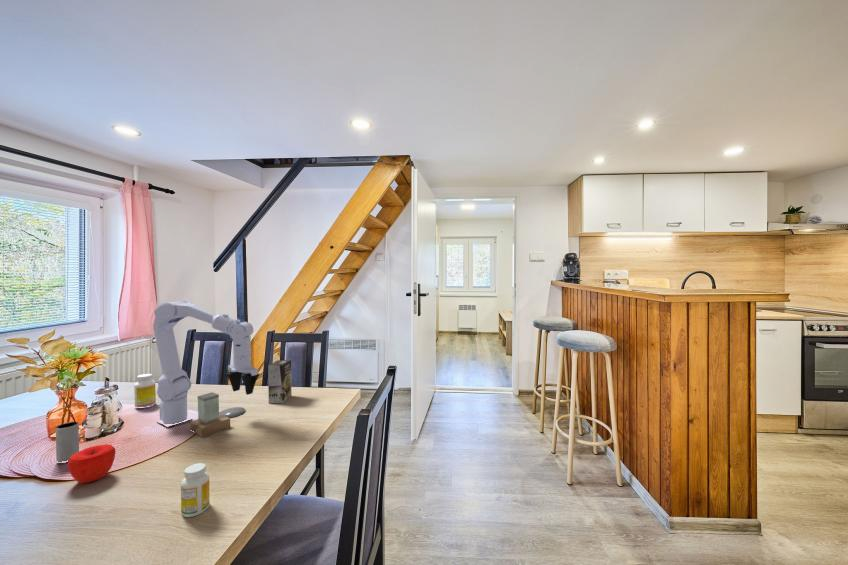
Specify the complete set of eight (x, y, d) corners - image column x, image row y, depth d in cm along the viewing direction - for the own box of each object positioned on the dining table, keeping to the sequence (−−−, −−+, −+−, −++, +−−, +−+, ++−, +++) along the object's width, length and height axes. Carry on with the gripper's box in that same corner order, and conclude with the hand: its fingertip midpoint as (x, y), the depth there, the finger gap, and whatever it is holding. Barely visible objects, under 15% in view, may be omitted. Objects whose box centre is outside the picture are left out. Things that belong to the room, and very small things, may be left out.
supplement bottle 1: (158, 405, 139) (157, 374, 138) (138, 410, 133) (137, 378, 133) (152, 402, 142) (151, 372, 142) (132, 407, 137) (131, 376, 136)
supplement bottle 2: (185, 521, 72) (184, 478, 72) (178, 510, 76) (177, 468, 76) (213, 508, 77) (212, 466, 76) (205, 498, 80) (204, 458, 80)
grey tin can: (82, 457, 99) (81, 422, 99) (62, 465, 95) (61, 429, 94) (73, 454, 100) (72, 420, 100) (52, 462, 96) (51, 427, 96)
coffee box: (283, 403, 140) (282, 365, 139) (268, 403, 140) (267, 365, 139) (292, 395, 149) (291, 359, 148) (277, 395, 149) (277, 359, 149)
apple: (73, 494, 82) (72, 462, 82) (63, 482, 87) (62, 452, 86) (121, 475, 89) (120, 446, 89) (109, 466, 94) (108, 438, 94)
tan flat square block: (189, 430, 115) (189, 421, 115) (217, 420, 123) (217, 412, 123) (202, 437, 111) (202, 428, 111) (230, 426, 118) (230, 418, 118)
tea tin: (198, 421, 116) (197, 396, 115) (212, 416, 120) (212, 392, 119) (204, 424, 113) (204, 398, 113) (219, 419, 117) (218, 394, 117)
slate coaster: (213, 414, 128) (213, 413, 128) (237, 407, 136) (237, 405, 136) (225, 420, 124) (225, 418, 124) (249, 411, 131) (249, 410, 131)
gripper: (219, 355, 123) (220, 392, 123) (244, 360, 116) (245, 398, 116) (237, 351, 129) (238, 386, 129) (262, 355, 122) (263, 392, 123)
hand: (242, 392), depth 123 cm, fingers open, 7 cm apart
